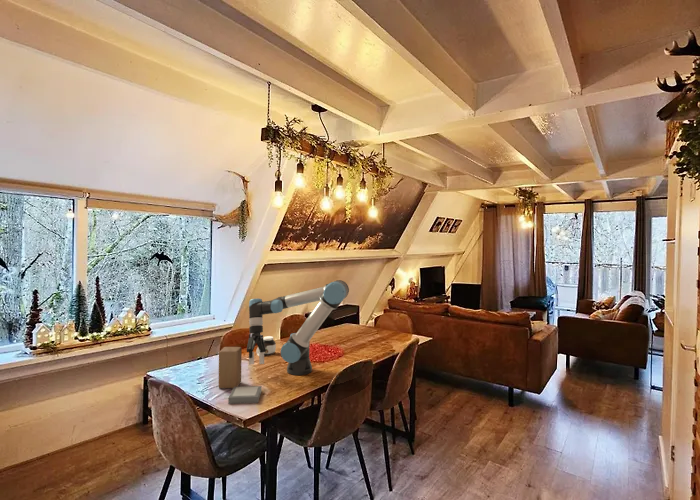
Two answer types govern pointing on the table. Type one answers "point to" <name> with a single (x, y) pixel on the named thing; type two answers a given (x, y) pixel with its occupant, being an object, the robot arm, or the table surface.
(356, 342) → the table surface
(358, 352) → the table surface
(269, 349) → the spread jar
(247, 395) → the slate base
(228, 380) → the wooden block
